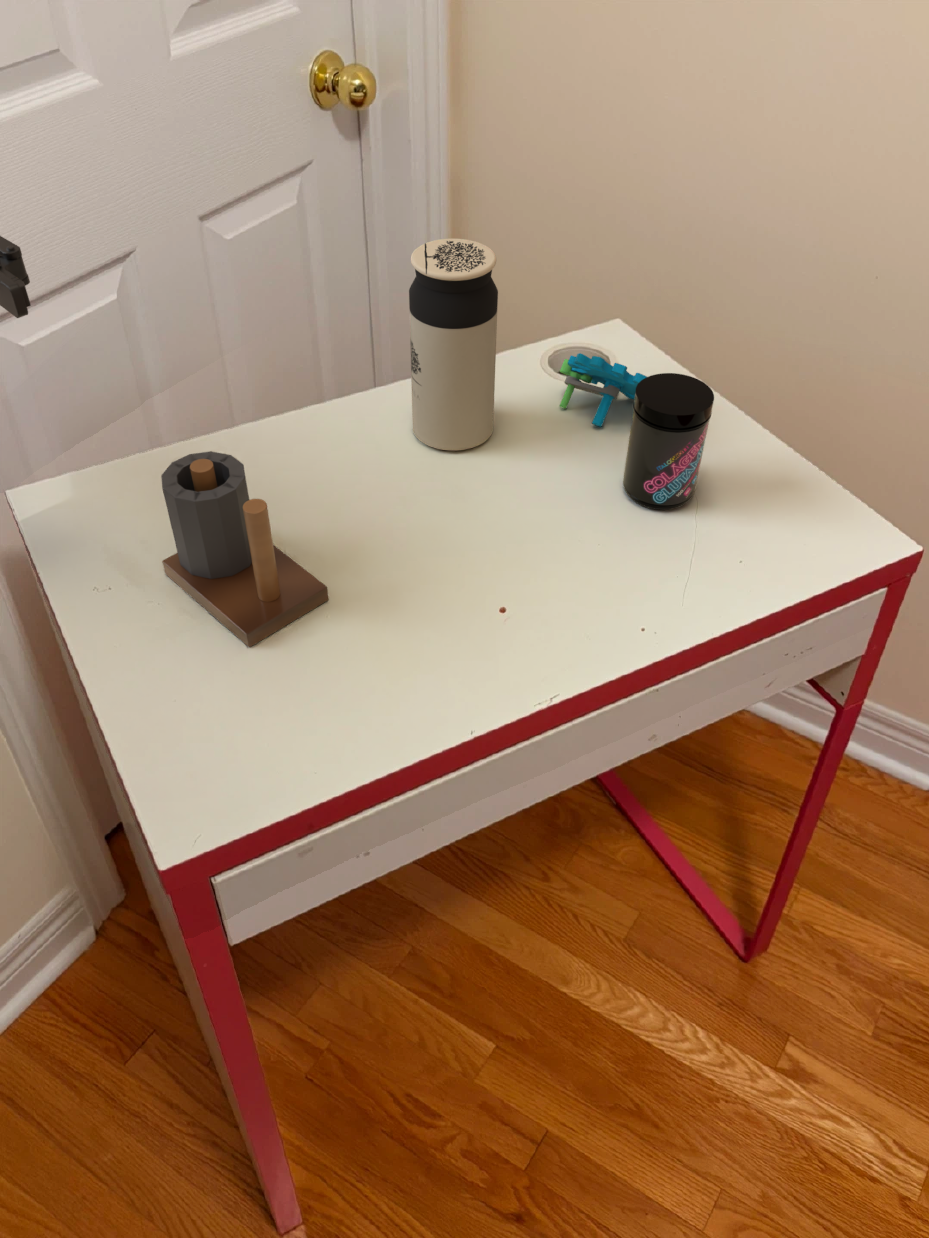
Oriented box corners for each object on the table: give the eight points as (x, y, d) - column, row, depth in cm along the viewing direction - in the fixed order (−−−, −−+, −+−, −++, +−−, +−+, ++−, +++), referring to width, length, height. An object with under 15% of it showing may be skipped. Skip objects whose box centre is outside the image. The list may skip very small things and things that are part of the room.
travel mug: (496, 410, 107) (502, 239, 94) (489, 456, 101) (495, 279, 88) (418, 405, 107) (414, 234, 95) (407, 450, 101) (401, 274, 89)
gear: (681, 398, 105) (644, 361, 97) (658, 453, 106) (619, 420, 97) (590, 374, 111) (547, 337, 103) (568, 426, 112) (524, 393, 103)
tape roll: (208, 589, 85) (191, 511, 79) (164, 551, 88) (145, 474, 82) (272, 554, 88) (260, 476, 82) (228, 519, 91) (214, 442, 86)
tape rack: (329, 600, 86) (318, 498, 79) (249, 648, 82) (229, 545, 75) (243, 532, 92) (225, 432, 85) (164, 574, 88) (139, 472, 81)
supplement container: (623, 512, 95) (637, 413, 88) (619, 467, 100) (632, 371, 92) (698, 515, 95) (719, 417, 87) (690, 471, 100) (709, 374, 92)
